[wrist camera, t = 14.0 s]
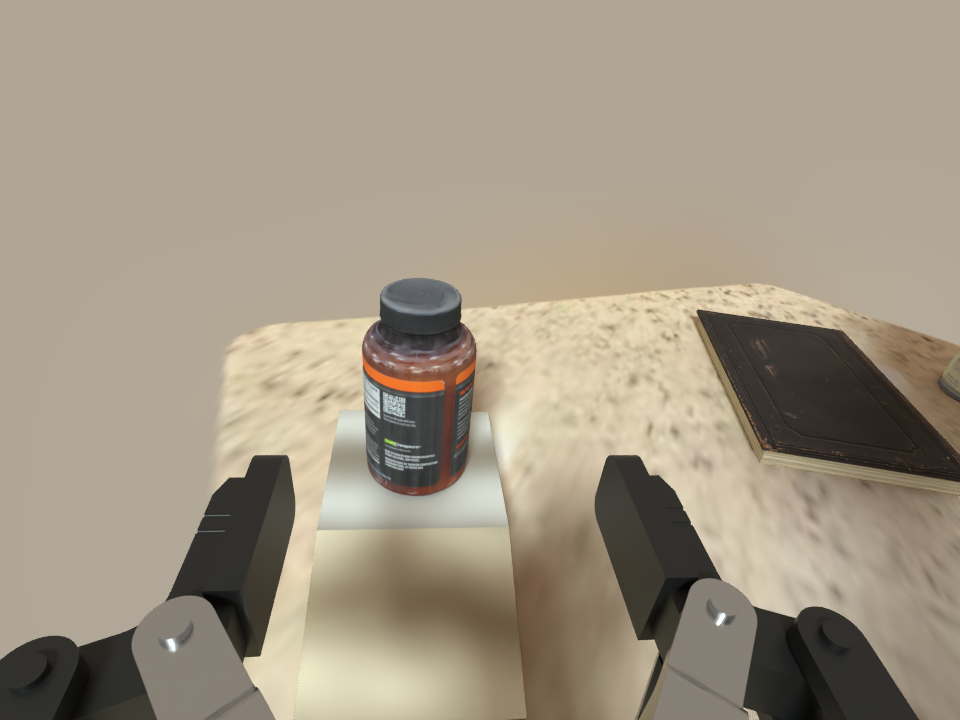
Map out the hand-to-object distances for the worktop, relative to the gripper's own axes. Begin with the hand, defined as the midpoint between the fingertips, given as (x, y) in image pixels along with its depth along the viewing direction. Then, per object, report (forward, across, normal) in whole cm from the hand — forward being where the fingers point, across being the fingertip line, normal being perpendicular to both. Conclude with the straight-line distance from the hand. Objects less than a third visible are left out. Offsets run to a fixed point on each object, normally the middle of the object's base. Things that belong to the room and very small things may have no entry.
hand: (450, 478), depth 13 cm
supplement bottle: (+14, +1, +13) cm, 19 cm away
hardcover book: (+26, -35, +17) cm, 47 cm away
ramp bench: (+10, +1, +17) cm, 20 cm away
